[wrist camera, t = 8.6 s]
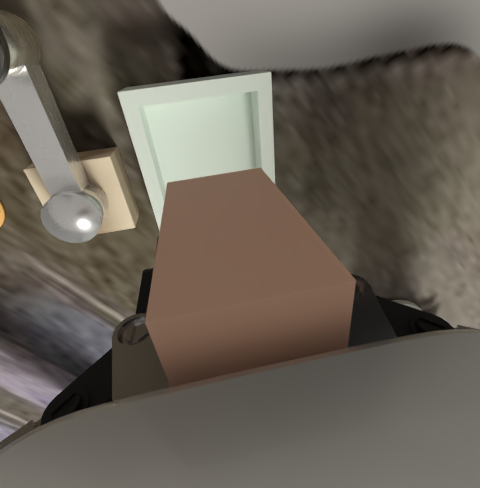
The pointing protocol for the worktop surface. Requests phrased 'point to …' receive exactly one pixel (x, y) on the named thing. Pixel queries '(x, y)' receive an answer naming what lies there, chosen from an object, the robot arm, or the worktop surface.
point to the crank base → (107, 179)
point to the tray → (200, 128)
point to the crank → (46, 136)
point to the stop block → (241, 280)
